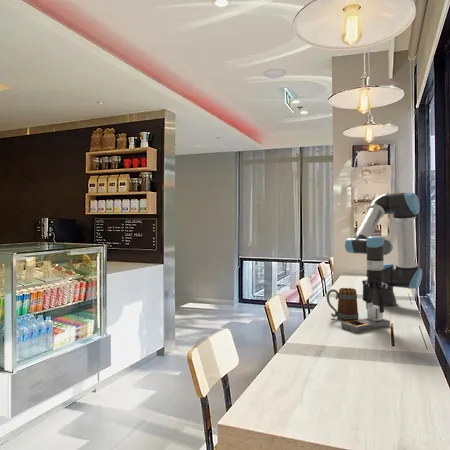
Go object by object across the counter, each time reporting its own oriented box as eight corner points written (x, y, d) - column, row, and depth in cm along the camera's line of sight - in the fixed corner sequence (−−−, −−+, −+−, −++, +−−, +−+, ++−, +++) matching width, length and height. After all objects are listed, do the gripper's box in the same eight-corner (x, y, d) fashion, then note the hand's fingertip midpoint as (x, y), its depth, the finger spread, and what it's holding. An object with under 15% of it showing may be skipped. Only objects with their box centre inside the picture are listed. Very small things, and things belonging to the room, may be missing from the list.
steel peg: (374, 323, 194) (374, 305, 194) (382, 325, 190) (382, 306, 190) (367, 324, 192) (367, 306, 191) (375, 327, 188) (375, 308, 187)
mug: (355, 316, 208) (355, 287, 207) (360, 321, 197) (360, 291, 197) (325, 315, 209) (325, 287, 209) (328, 321, 199) (328, 291, 198)
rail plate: (374, 321, 197) (374, 316, 197) (390, 326, 189) (390, 320, 189) (341, 328, 187) (341, 322, 187) (356, 333, 179) (356, 327, 179)
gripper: (354, 267, 196) (354, 314, 197) (385, 272, 180) (385, 323, 181) (365, 266, 200) (365, 312, 201) (396, 270, 184) (396, 321, 184)
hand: (374, 317), depth 191 cm, fingers open, 5 cm apart
